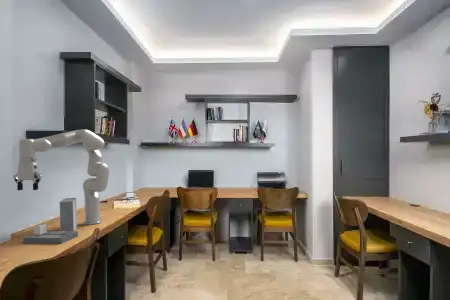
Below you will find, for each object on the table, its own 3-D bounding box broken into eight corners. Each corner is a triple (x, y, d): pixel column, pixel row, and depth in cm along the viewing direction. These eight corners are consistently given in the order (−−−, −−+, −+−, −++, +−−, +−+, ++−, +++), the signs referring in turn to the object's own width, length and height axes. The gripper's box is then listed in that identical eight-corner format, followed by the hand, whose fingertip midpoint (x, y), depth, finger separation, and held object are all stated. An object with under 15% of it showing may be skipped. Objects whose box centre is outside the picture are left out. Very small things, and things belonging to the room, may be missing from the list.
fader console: (42, 235, 172) (42, 230, 172) (78, 236, 169) (78, 230, 169) (23, 243, 158) (23, 237, 158) (61, 243, 155) (61, 237, 155)
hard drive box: (64, 228, 188) (63, 198, 189) (77, 227, 191) (76, 197, 192) (59, 234, 174) (59, 201, 174) (73, 233, 177) (73, 200, 177)
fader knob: (40, 232, 167) (40, 223, 167) (46, 232, 167) (46, 223, 167) (33, 234, 162) (33, 225, 162) (40, 234, 161) (39, 225, 161)
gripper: (46, 159, 168) (46, 189, 168) (19, 160, 170) (19, 189, 170) (36, 160, 161) (36, 190, 161) (8, 160, 163) (8, 191, 162)
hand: (27, 190), depth 165 cm, fingers open, 9 cm apart
